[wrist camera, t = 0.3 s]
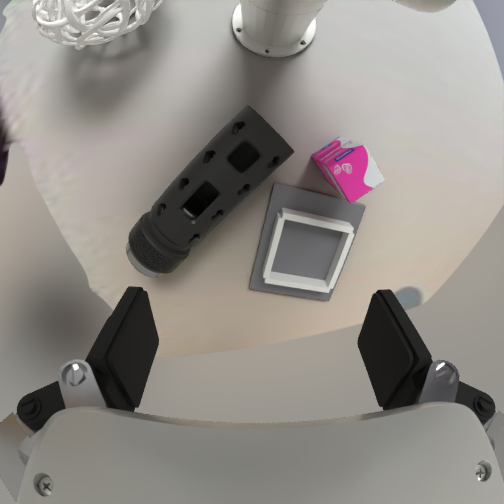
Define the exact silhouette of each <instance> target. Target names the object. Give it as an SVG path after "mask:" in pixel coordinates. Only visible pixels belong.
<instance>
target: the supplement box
mask: <svg viewBox="0 0 504 504" xmlns="http://www.w3.org/2000/svg"><path fill="white" fill-rule="evenodd" d="M312 157H313V159H314V160H315V162H316V163H317V165H318V167H319V168H320V170H321V171H322V173H323V174H324V176H325V177H326V179H327V180H328V182H329V183H330V184H331V185H332V186H333V187H334V188H335V189H336V190H337V191H338V192H339V193H340V194H341V195H342V196H343V197H344V198H345V199H346V200H347V201H348V202H349V203H352V202H354V201H355V200H357V199H359V198H360V197H361V196H363V195H365V194H366V193H368V192H369V191H371V190H372V189H374V188H375V187H376V186H378V185H379V184H381V183H382V182H384V181H385V180H384V178H383V176H382V174H381V172H380V171H379V169H378V167H377V165H376V163H375V162H374V160H373V158H372V157H371V155H370V153H369V151H368V150H367V148H366V146H365V145H364V144H361V143H358V142H355V141H352V140H348V139H345V138H341V137H338V138H337V139H336V140H334V141H333V142H331V143H330V144H328V145H327V146H325V147H324V148H322V149H321V150H319V151H318V152H316V153H314V154H313V155H312Z"/></svg>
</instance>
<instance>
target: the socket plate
mask: <svg viewBox="0 0 504 504" xmlns="http://www.w3.org/2000/svg"><path fill="white" fill-rule="evenodd" d="M365 207H366V206H365V205H363V204H360V203H356V202H352V203H349V202H348V201H347V200H345V199H341V198H337V197H334V196H330V195H326V194H322V193H318V192H314V191H309V190H305V189H301V188H297V187H292V186H288V185H283V184H279V183H274V185H273V189H272V194H271V198H270V202H269V206H268V210H267V215H266V219H265V223H264V227H263V231H262V235H261V239H260V244H259V248H258V252H257V256H256V260H255V264H254V268H253V272H252V276H251V281H250V285H249V289H254V290H260V291H266V292H272V293H279V294H285V295H292V296H298V297H305V298H312V299H319V300H326V301H329V300H330V297H331V295H332V293H333V290H334V288H335V286H336V283H337V281H338V279H339V276H340V274H341V271H342V269H343V266H344V264H345V261H346V259H347V256H348V254H349V251H350V249H351V246H352V243H353V241H354V238H355V235H356V233H357V230H358V227H359V224H360V222H361V219H362V216H363V213H364V210H365Z"/></svg>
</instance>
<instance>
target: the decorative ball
mask: <svg viewBox="0 0 504 504" xmlns="http://www.w3.org/2000/svg"><path fill="white" fill-rule="evenodd" d="M56 1H57V6H58V7H56V8H54V0H33V4H32V6H33V8H32V16H33V19H34V20H35V21H36V22H37V23H36V26H37V29H38V31H39V33H40V34H41V35H42V36H44V37H46V38H48V39H50V40H52V41H53V42H56V43H58V44H62V45H68V46H75V49H77V50H81V49H82V48H84V47H85V46H86V45H98V44H102V43H106V42H109V41H111V40H113V39H116V38H118V37H119V36H121V35H124V34H126V33H129V32H131V31H133V30H134V29H136V28H137V27H138V26H139V25H140V24H141V25H143V24H144V23H146V22H147V21H148V19H149V17H150V15H151V12H153V11H154V10H155V9H157V8H158V7H159V6H160V4H161V3H162V2H163V0H159V2H158V3H157V4H156V5H155V6H154V4H155V0H142V1H141V0H135V5H136V7H134V8H133V9H132V10H131V11H130V0H115V2H114V3H112V4H111V5H109V6H108V7H107V8H104V7H99V6H97V5H98V4H99V3H101V2H102V1H103V0H92V1H91V2H89V3H86V2H87V0H81V3H75V0H62V1H63V4H64V5H62V3H61V0H56ZM39 2H41V4H40V6H38V3H39ZM47 2H48V5H47ZM120 4H121V5H122V6H121V7H118V6H119V5H120ZM46 6H48V11H47V12H46ZM117 7H118V8H117ZM78 8H79V9H78ZM90 10H91V11H99V12H100V14H99V15H98V17H96V18H94V19H92V20H89V21H85V13H86V12H87V11H90ZM121 11H123V14H122V13H121ZM135 11H136V13H135V17H136V20H137V21H136V22H134V23H133V24H131V25H128V23H129V17H130V16H131V15H132V14H133V13H134V12H135ZM56 12H58V13H57V18H56V17H54V16H53V14H54V13H56ZM114 16H116V17H118V18H119V20H118V21H117V22H111V23H108V24H106V23H107V22H108V21H109V20H111V19H112V18H113V17H114ZM79 17H80V21H79V20H78V18H79ZM44 20H46V22H44ZM99 20H100V21H99ZM68 24H70V25H71V26H72V27H70V26H68ZM86 24H88V25H86ZM104 24H106V25H105V26H103V25H104ZM127 25H128V26H127ZM41 26H43V30H42V29H41ZM47 29H49V30H51V31H52V32H54V33H55V34H52V33H49V32H48V30H47ZM61 29H63V31H62V30H61ZM80 32H81V33H82V35H81V36H80V37H79V38H74V37H71V36H70V35H69V33H80ZM97 36H98V37H97ZM99 36H107V37H109V38H103V37H99ZM63 38H66V39H67V40H70V41H73V42H65V41H63Z"/></svg>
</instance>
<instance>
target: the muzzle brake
mask: <svg viewBox="0 0 504 504" xmlns="http://www.w3.org/2000/svg"><path fill="white" fill-rule="evenodd" d="M243 126H244V128H242V127H243ZM293 153H294V150H293V149H292V148H291V147H290V146H289V145H288V144H287V142H286V141H285V140H284V139H283V138H282V137H281V136H280V135H279V134H278V133H277V132H276V131H275V130H274V129H273V128H272V127H271V126H270V125H269V124H268V123H267V122H266V121H265V120H264V119H263V118H262V117H261V116H260V115H259V114H258V113H257V112H255V111H254V110H253V109H252V108H251V107H250V106H246V107H245V108H244V109H243V110H242V111H241V112H240V113H239V114H238V115H237V116H236V117H235V118H234V119H233V120H232V121H231V122H230V123H229V124H227V125H226V126H225V127H224V128H223V129H222V130H221V131H220V132H219V133H218V134H217V135H216V136H215V137H214V138H213V139H212V140H211V141H210V143H209V144H208V145H207V146H206V147H205V148H204V149H203V150H202V151H201V152H200V153H199V154H198V155H197V156H196V157H195V158H194V159H193V160H192V161H191V162H190V163H189V164H188V166H187V167H186V168H185V169H184V170H183V172H182V173H181V174H180V175H179V176H178V177H177V178H176V179H175V180H174V181H173V182H172V184H171V185H170V186H169V187H168V188H167V189H166V190H165V192H164V193H163V194H162V196H161V197H160V198H159V199H158V200H157V201H156V202H155V204H154V205H153V206H152V209H151V211H150V212H148V213H145V214H144V215H143V216H142V217H141V218H140V219H139V221H138V222H137V223H136V224H135V226H134V227H133V228H132V230H131V231H130V233H129V241H128V243H127V245H126V253H127V256H128V259H129V261H130V262H131V264H132V265H133V266H134V267H135V268H136V269H137V270H138V271H139V272H141V273H142V274H144V275H146V276H149V277H160V276H162V275H163V274H165V273H170V272H172V271H173V270H175V269H176V268H177V267H178V266H179V264H180V263H181V262H182V261H183V260H184V259H185V258H186V257H187V256H188V254H189V251H190V248H191V247H194V246H196V245H197V244H198V243H199V242H200V241H201V240H202V239H203V238H204V237H205V236H206V235H207V234H208V233H209V232H210V231H211V230H212V229H213V228H214V227H215V226H216V225H217V224H218V223H219V222H220V221H221V220H222V219H223V218H224V217H225V216H226V215H227V214H228V213H229V212H231V211H232V210H233V209H234V208H235V207H236V206H237V205H238V204H239V203H240V202H241V201H242V200H243V199H244V198H245V197H246V196H247V195H248V194H250V193H251V192H252V191H253V190H254V189H255V188H256V187H257V186H258V185H259V184H260V183H261V182H262V181H264V180H265V179H266V178H267V177H268V176H269V175H270V174H271V173H272V172H273V171H274V170H276V169H277V168H278V167H279V166H280V165H281V164H282V163H283V162H284V161H285V160H287V159H288V158H289V157H290V156H291V155H292V154H293Z"/></svg>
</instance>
